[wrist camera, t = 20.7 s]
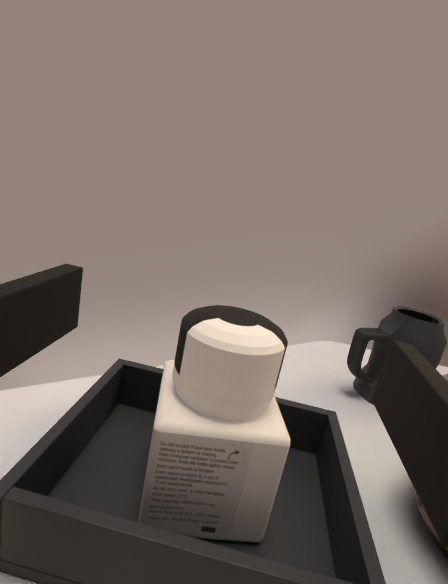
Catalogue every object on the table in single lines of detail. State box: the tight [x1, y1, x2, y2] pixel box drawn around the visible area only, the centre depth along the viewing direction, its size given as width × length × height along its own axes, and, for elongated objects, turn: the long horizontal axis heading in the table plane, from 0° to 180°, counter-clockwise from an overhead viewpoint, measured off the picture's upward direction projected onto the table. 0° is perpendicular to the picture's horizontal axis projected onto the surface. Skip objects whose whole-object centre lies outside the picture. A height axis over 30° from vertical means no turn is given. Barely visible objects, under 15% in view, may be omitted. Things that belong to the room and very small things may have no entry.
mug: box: [347, 306, 447, 404], centre depth 45 cm, size 12×9×11 cm
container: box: [138, 305, 290, 543], centre depth 24 cm, size 8×8×13 cm
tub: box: [0, 359, 386, 584], centre depth 25 cm, size 20×16×5 cm
